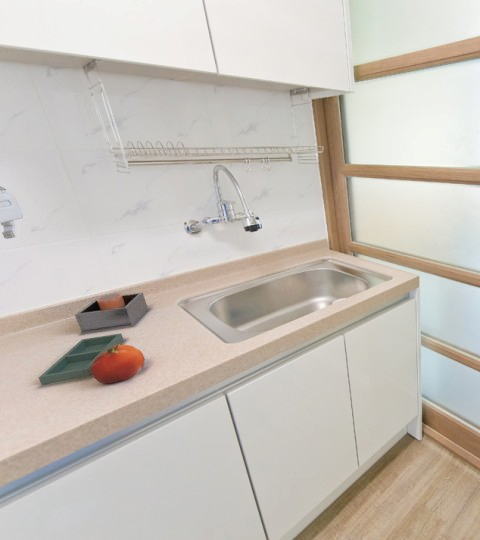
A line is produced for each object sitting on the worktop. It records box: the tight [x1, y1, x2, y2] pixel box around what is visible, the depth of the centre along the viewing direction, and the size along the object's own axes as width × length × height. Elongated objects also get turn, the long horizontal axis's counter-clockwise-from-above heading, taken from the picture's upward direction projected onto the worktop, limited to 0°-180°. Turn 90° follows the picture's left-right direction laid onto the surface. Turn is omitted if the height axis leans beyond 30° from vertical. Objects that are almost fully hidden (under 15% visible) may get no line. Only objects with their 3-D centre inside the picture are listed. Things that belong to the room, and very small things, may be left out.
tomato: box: [91, 343, 146, 384], centre depth 77 cm, size 9×9×8 cm
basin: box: [74, 292, 149, 335], centre depth 104 cm, size 13×13×7 cm
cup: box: [96, 292, 126, 310], centre depth 104 cm, size 6×6×8 cm
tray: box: [38, 333, 124, 386], centre depth 84 cm, size 9×17×3 cm, turn 18°
